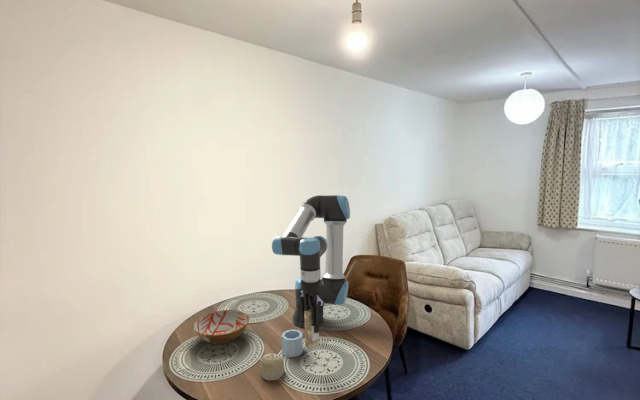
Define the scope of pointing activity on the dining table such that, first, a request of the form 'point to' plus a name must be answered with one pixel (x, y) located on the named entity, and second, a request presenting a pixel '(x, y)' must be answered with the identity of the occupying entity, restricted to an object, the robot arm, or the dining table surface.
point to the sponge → (271, 367)
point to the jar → (292, 343)
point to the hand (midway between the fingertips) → (312, 337)
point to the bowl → (221, 326)
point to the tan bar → (309, 331)
